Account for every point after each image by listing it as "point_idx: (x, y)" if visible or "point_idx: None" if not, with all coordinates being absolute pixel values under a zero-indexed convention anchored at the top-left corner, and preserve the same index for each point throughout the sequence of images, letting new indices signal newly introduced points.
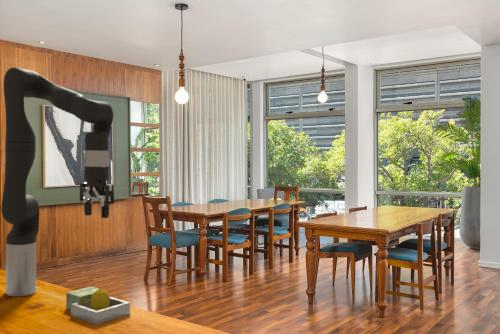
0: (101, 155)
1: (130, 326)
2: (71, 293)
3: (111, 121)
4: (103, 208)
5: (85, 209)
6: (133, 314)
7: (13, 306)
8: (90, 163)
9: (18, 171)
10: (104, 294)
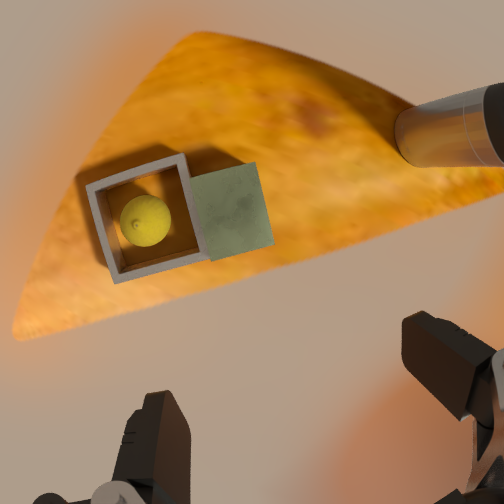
0: None
1: (56, 243)
2: (236, 170)
3: None
4: (136, 465)
5: (441, 335)
6: None
7: (337, 83)
8: None
9: None
10: (122, 228)
